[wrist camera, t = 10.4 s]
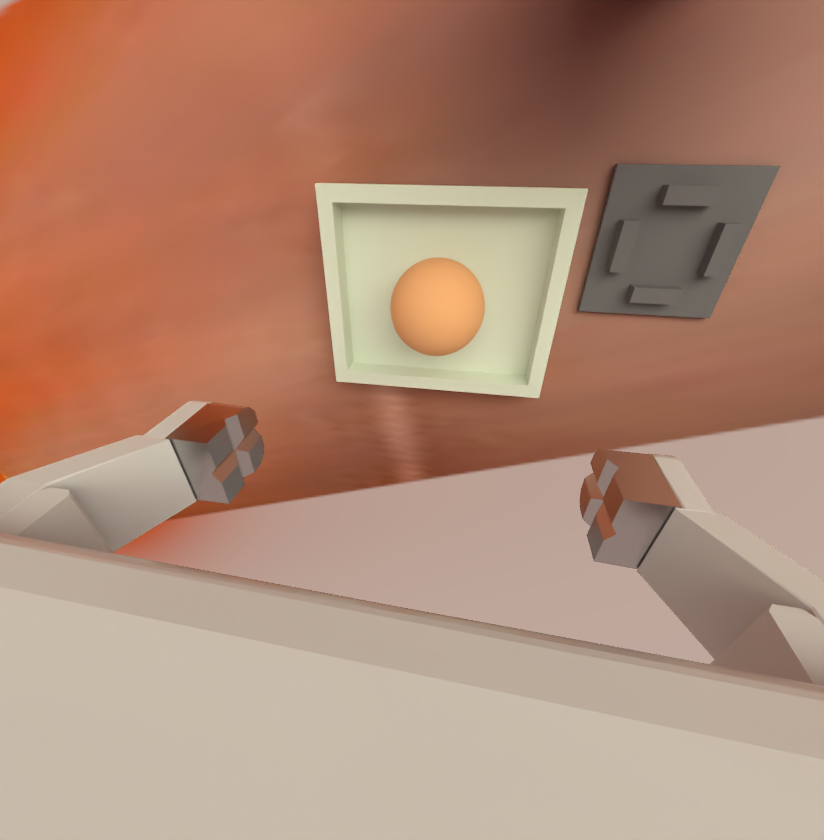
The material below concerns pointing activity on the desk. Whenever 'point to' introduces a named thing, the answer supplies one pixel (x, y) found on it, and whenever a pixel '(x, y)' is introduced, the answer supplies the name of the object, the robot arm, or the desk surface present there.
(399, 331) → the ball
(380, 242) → the tray
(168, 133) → the desk surface
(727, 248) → the coaster
